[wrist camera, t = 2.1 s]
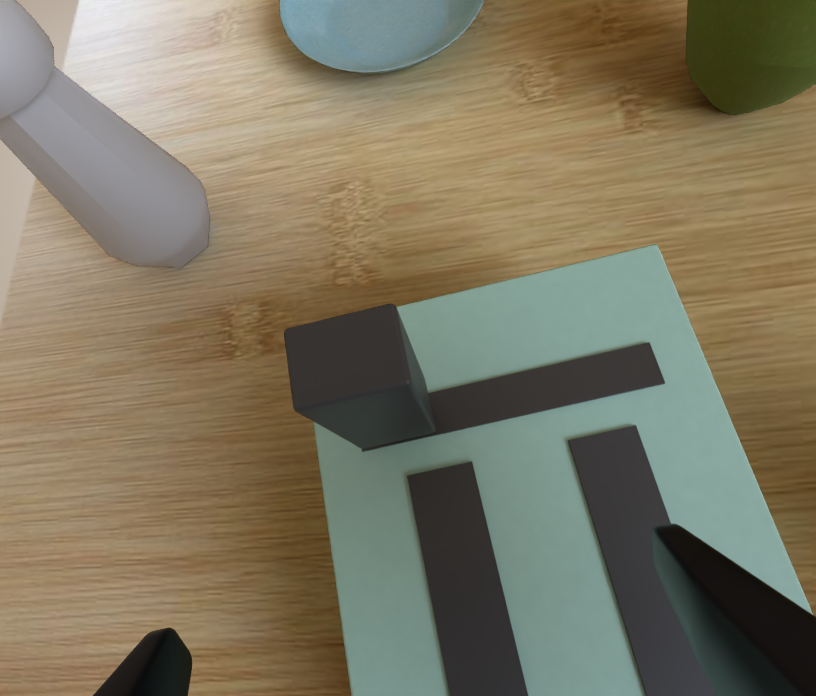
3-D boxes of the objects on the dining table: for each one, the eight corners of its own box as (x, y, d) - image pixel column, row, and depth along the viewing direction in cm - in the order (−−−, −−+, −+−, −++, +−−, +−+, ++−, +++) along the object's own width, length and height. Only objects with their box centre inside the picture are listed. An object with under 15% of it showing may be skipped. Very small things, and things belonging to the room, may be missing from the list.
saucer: (526, -9, 30) (530, -49, 28) (406, 134, 28) (400, 102, 26) (372, -70, 33) (364, -110, 31) (254, 53, 31) (238, 19, 29)
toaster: (744, 761, 18) (970, 968, 10) (433, 817, 18) (396, 1055, 10) (596, 336, 23) (660, 238, 15) (358, 391, 24) (296, 326, 16)
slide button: (440, 439, 14) (412, 384, 8) (369, 454, 14) (292, 411, 8) (428, 386, 14) (394, 300, 9) (360, 402, 15) (281, 327, 9)
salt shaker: (122, 208, 29) (-140, -18, 17) (217, 176, 29) (22, -76, 16) (131, 298, 27) (-159, 116, 15) (234, 264, 27) (26, 52, 14)
